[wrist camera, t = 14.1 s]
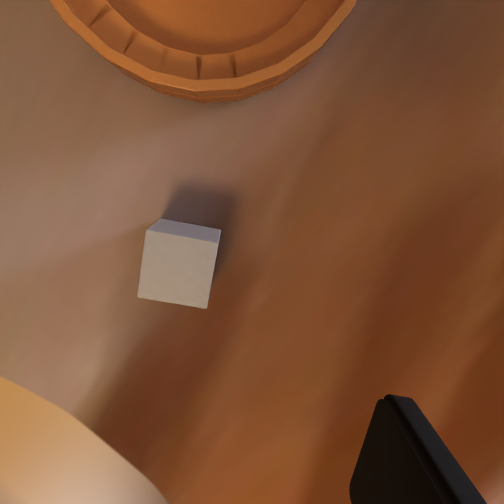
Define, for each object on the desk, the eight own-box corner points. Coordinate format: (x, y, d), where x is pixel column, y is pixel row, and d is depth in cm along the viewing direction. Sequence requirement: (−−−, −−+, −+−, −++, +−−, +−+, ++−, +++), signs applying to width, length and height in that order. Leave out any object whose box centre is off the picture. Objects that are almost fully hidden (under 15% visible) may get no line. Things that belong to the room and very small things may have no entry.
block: (221, 229, 26) (218, 242, 22) (211, 285, 27) (206, 309, 23) (160, 218, 26) (145, 229, 21) (152, 275, 27) (136, 297, 22)
